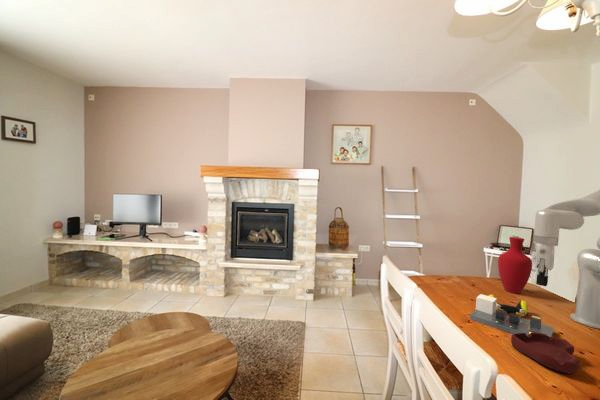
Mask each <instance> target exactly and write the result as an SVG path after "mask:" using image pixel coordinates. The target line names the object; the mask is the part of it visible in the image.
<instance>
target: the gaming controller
mask: <svg viewBox="0 0 600 400" xmlns="http://www.w3.org/2000/svg"><path fill="white" fill-rule="evenodd" d="M488 296H490V297H493V298H496V297H495V295H494V294H489V295H488ZM497 309H501V310H505V311H507V313H508V314H510V313H515V314H518V315H521V316H520V317H521V318H524V317H525V316H527V314H528V309H529V305H528V304H527V302H526V300H520V301H519V302H518V303H517V305H515V306H514V305H510V304H509V305H508V304H503V303H499V302H498V301H497V304H496V310H497Z"/></svg>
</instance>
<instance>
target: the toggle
mask: <svg viewBox="0 0 600 400" xmlns="http://www.w3.org/2000/svg"><path fill="white" fill-rule="evenodd" d="M529 320H530V326H533V327H536V328H539V329H540V328H541V324H542V320H543V318H542V317H539V316H536V315H533V314H532V315H531V316H530V319H529Z"/></svg>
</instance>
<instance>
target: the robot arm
mask: <svg viewBox="0 0 600 400" xmlns="http://www.w3.org/2000/svg"><path fill="white" fill-rule="evenodd" d="M599 215H600V189H598V190H595V191H594V192H592V193H590V194H588V195H585V196H583V197H579V198H574V199H570V200H566V201H561V202H556V203H553V204H551V205H549V206H547V207H545V208H543V209H540V210H537V211H536V212H535V219H534V231H533V241H532V242H533V244H536V251H535V265H534V267H535V268H537V274H536V281H535V284H536V285H539V286H543V287H547V286H548V282H549V271H551V270H553V269H554V268H555V267H554V265H555V247H558V246H559V239H560V238H559V237H560V229H561V230H568V231H571V230H572V231H573V230H574V231H575V230H578V229H580V228H582V227H583V225H584V224H585V218H586V217H594V216H599ZM596 247H597V249H595V248H586V249H582V250H580V252H579V251H578V253H577V257H576V261H577V267H578V283H577V291H576V292H577V294H576V303H575V312H573V313H569V314H570V315H569V318H570V319H571V320H573V321H575V322H576V323H578V324H581V325H584V326H587V327H591V328H593V329H598V330H600V237H598V239H597V241H596Z"/></svg>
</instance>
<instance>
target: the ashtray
mask: <svg viewBox="0 0 600 400" xmlns="http://www.w3.org/2000/svg"><path fill="white" fill-rule="evenodd" d="M510 339H511V340H510V342H511V345H512V347H513V348H514V349H515V350H516V351H518V352H520V354H521V353H522V354H523V355H525V356H527V357H528V358H530V359H532V360H534V361H536V362H538V364H541V365H543V366H545V367H547V368H549V369H552V370H555V371H556V372H557V373H560V374H561V375H569V374H574V373H577V372H578V371H579V369H580V363H579V361H580V360H579V359H578V358H577V357H576V356H573V355H574V353H575V346H574V345H573V344H571V343H570V342H569V341H568V340H566V339H563V338H561V337H557V336H552V337H549V336H547V335H546V334H543V333H530V334H529V335H527V336H526V333H516V334H511V337H510Z"/></svg>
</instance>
